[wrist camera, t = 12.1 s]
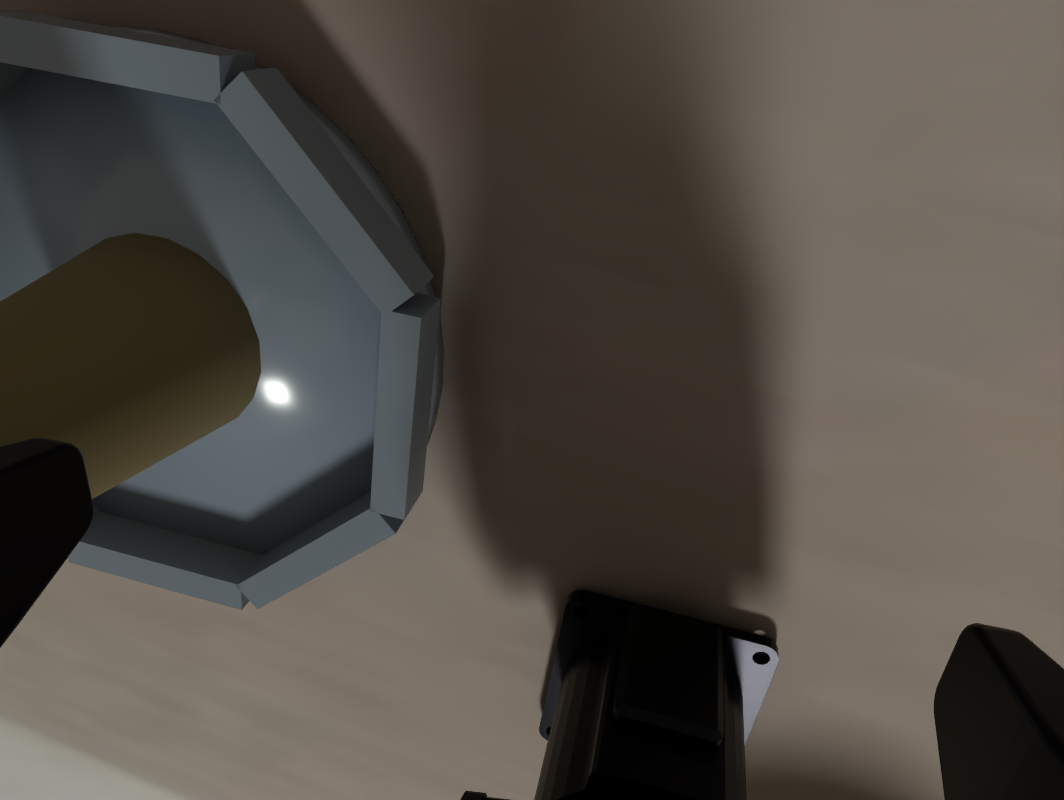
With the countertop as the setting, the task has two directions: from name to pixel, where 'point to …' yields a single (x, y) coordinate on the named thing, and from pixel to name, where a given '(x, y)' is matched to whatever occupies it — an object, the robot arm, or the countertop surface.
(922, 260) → the countertop surface
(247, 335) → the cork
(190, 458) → the dish
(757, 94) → the countertop surface
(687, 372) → the countertop surface
